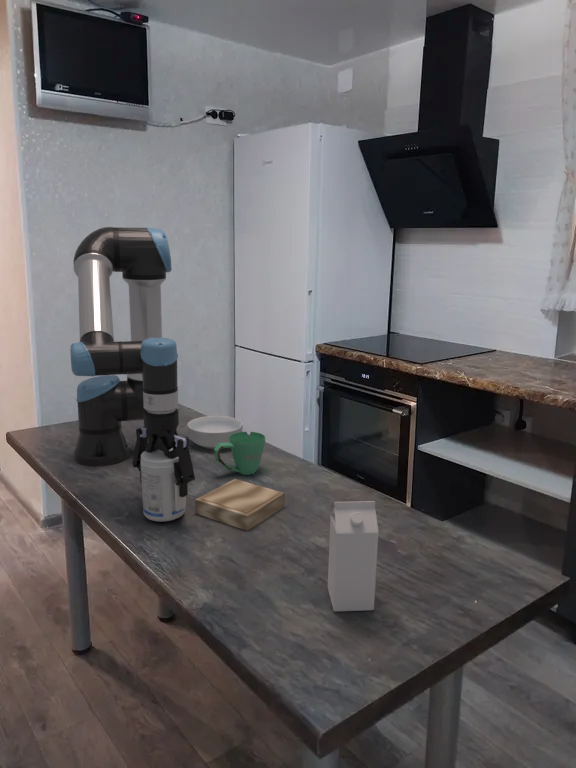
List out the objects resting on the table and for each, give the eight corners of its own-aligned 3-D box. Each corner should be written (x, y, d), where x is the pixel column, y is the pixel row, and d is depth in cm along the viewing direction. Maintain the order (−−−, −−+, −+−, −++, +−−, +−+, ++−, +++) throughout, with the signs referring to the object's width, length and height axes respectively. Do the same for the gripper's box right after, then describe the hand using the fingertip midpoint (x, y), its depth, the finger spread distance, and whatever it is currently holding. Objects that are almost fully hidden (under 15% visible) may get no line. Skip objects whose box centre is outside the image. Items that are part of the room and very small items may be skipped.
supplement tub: (179, 501, 144) (177, 443, 140) (190, 518, 136) (189, 457, 132) (138, 508, 140) (136, 449, 136) (148, 526, 132) (145, 464, 128)
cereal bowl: (177, 449, 181) (176, 427, 180) (203, 433, 197) (203, 413, 195) (228, 457, 176) (228, 434, 174) (251, 440, 191) (251, 419, 189)
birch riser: (195, 513, 140) (195, 499, 139) (234, 491, 152) (234, 478, 151) (247, 530, 132) (247, 515, 131) (284, 506, 144) (284, 492, 144)
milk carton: (327, 589, 111) (331, 493, 106) (365, 587, 111) (370, 492, 107) (333, 612, 104) (337, 511, 99) (373, 611, 104) (380, 510, 100)
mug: (253, 462, 172) (254, 429, 170) (271, 474, 164) (272, 439, 162) (207, 472, 164) (206, 437, 162) (223, 484, 156) (223, 448, 154)
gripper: (112, 404, 134) (117, 496, 140) (187, 422, 123) (189, 522, 128) (137, 397, 140) (141, 485, 146) (211, 414, 129) (212, 509, 135)
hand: (164, 503), depth 137 cm, fingers closed on supplement tub, 9 cm apart
